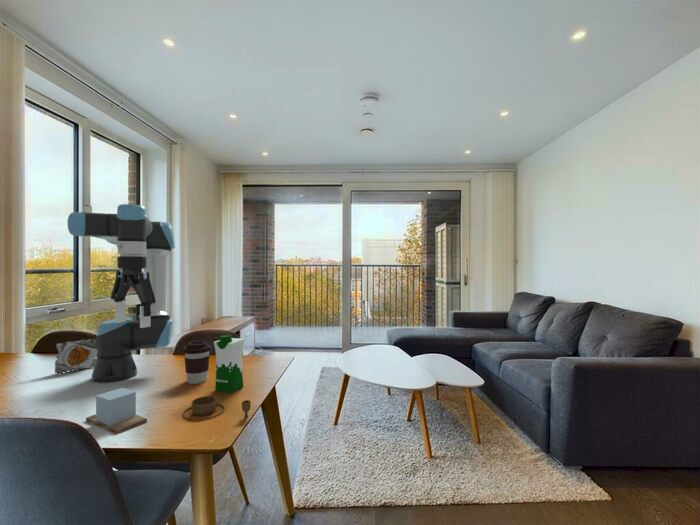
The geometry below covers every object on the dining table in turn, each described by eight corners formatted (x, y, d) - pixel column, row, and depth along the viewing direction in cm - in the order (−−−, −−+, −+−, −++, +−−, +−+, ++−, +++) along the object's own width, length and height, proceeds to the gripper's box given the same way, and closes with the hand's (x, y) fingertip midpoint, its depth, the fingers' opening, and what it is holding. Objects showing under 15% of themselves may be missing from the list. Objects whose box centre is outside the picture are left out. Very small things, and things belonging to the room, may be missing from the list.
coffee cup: (200, 386, 129) (200, 346, 129) (177, 384, 131) (177, 345, 131) (216, 377, 139) (216, 340, 139) (194, 376, 141) (194, 339, 141)
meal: (57, 377, 140) (57, 344, 140) (54, 374, 143) (54, 343, 143) (101, 368, 152) (101, 338, 152) (98, 366, 154) (98, 337, 154)
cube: (96, 420, 97) (96, 395, 97) (122, 410, 104) (122, 387, 104) (109, 425, 94) (109, 400, 94) (135, 415, 100) (135, 391, 100)
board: (86, 423, 99) (86, 417, 99) (116, 413, 106) (116, 407, 106) (116, 437, 91) (116, 430, 91) (146, 424, 98) (146, 418, 98)
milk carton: (211, 392, 123) (211, 336, 123) (227, 383, 132) (227, 331, 132) (231, 395, 120) (231, 338, 120) (247, 386, 129) (247, 333, 129)
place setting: (223, 402, 116) (223, 384, 116) (254, 421, 102) (254, 401, 102) (167, 419, 104) (167, 399, 104) (194, 443, 90) (194, 420, 90)
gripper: (97, 255, 109) (98, 322, 109) (143, 256, 96) (143, 331, 97) (123, 255, 115) (123, 318, 116) (168, 256, 103) (168, 327, 103)
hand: (132, 324), depth 106 cm, fingers open, 13 cm apart
